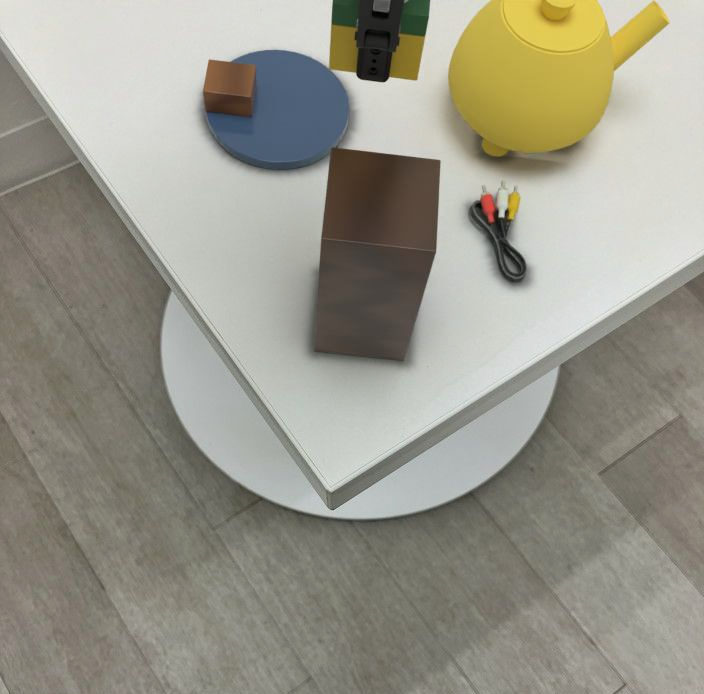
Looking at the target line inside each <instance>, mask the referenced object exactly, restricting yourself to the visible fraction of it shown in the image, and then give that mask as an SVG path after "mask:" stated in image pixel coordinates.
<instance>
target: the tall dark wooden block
mask: <svg viewBox="0 0 704 694" xmlns="http://www.w3.org/2000/svg"><path fill="white" fill-rule="evenodd" d="M329 155H330V156H329V163H328V170H327V171H328V172H327V180H326V191H325V199H324V210H323V217H322V226H321V236H320V248H319V265H318V266H319V267H318V282H317V295H316V311H315V327H314V339H313V340H314V341H313V342H314V343H313V351H314V352H319V353H329V354H337V355H338V354H339V355H347V356H355V357H357V356H358V357H366V358H374V359H375V358H376V359H385V360H395V361H406V356H407V353H408V349H409V346H410V343H411V339H412V335H413V333H414V332H413V331H414V329H415V326H416V322H417V319H418V316H419V312H420V308H421V305H422V301H423V298H424V294H425V291H426V288H427V285H428V282H429V278H430V275H431V271H432V267H433V264H434V261H435V257H436V254H437V247H438V245H437V244H438V224H439V223H438V222H439V205H440V203H439V202H440V186H441V185H440V184H441V164H442V163H441V162H442V161H441V159H435V158H428V157H427V158H426V157H419V156H411V155H404V154H403V155H402V154H393V153H387V152H386V153H384V152H377V151H368V150H359V149H351V148H343V147H336V148H335V147H332V148H331V152H330V153H329Z"/></svg>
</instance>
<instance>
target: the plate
mask: <svg viewBox="0 0 704 694" xmlns="http://www.w3.org/2000/svg"><path fill="white" fill-rule="evenodd" d="M230 62H235V63H243V64H251V65H256V77H257V88H256V94H255V101H254V107H253V114H252V117H248V116H240V115H231V114H223V113H214V112H206V111H205V110H204V111H205V118H206V122H207V126H208V128H209V131H210V133H211V135H212V137H213V138H214V140H215V141H216V142H217V143H218V145H220V146H221V147H222V148H223V149H224V150H225V151H226V152H227V153H229V154H230V155H231V156H233V157H234V158H236V159H238V160H240V161H241V162H243V163H246V164H248V165H252V166H255V167H258V168H263V169H269V170H290V169H296V168H297V169H298V168H302V167H306V166H309V165H312V164H314V163H316V162H318V161H320V160H322V159H324V158H325V157H326V156H329V155H330V153H331V148H332V147H335V148H337V147H338V145H339V144H340V143H341V141H342V140H343V138H344V136H345V134H346V131H347V129H348V126H349V125H348V124H349V119H350V101H349V96H348V94H347V91H346V88H345V87H344V85H343V83H342V81H341V80H340V78H339V77H338V76H337V75H336V74H335V73H334V72H333V70H330V69H329V67H328V66H326V65H325V64H324V63H322V62H320V61H319V60H316V59H315V58H313V57H311V56H308V55H305V54H303V53H299V52H296V51H291V50H286V49H285V50H284V49H264V50H256V51H253V52H248V53H245V54H243V55H240V56H238V57H236V58H234V59H232V60H231V61H230Z"/></svg>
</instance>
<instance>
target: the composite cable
mask: <svg viewBox="0 0 704 694" xmlns="http://www.w3.org/2000/svg"><path fill="white" fill-rule="evenodd" d="M481 189H482V193H480V198H479V199H477V200H474V201H473V202H472V204H471V205H470V207H469V209H468V213H469V214H470V217H471V219H472V221H473V222H474V223H475V224H476V225H477V226H478V227H479V228H481V230H482V231H483V232H484V233H485V234H486V235H487V236H488V237H489V238H490V240H491V242H492V243H493V245H494V248H495V251H496V256H497V262H498V266H499V269H500V272H501V274H502V275H503V277H504V278H505V279H506V280H508V281H510V282H513V283H517V282H521V281H523V279H524V278H525V277H526V274H527V271H528V270H527V269H528V267H527V261H526V259H525V257H524V256H523V255H522V254H521V252H519V251H518V250H517V249H515V247H514V246H512V244H510V242H509V241H508V235H509V231H510V229H511V227H512V224H513V223H512V222H513V221H514V219H515V215H516V214H518V212H519V207H520V203H521V195H520V193H519V191H518V190H519V185H514V187H513V191H512V192H511V193H510V191H509V190H508V188H507V187H506V181H505V180H501V185H500V187H498V188H497V191H496V193H495V194H496V195H495V203H494V199H493V195H492V194H491V192H490V191H488V190H487V186H486V185H485V184H482V185H481ZM476 209H479V210H481V211H482V213H483V215H484V216H485V217H486V218H487V222H486V221H484V219H483V218H482V217H481V216H480V215H479V214H478V213H477V210H476ZM504 252H505V254H506V255H507V256H508V257H509V258H510V260H511V261H513V262H514V264H515V265H516V266H517V268H518V270H519V272H512V271H511V270H510V268H509V267H508V265H507V263H506V259H505V254H504Z"/></svg>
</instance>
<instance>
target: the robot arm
mask: <svg viewBox="0 0 704 694" xmlns="http://www.w3.org/2000/svg"><path fill="white" fill-rule="evenodd" d="M408 1H409V0H360V5H359V17H358V18H357V24H356V27H357V28H358V30H357V31H355V39H354V40H355V41H356V40H357V43H356V47H358V58H357V69H356V73H355V76H356V77H357V79H359V80H362V81H366V82H367V81H368V82H376V83H385V82H388V80H389V79H390V77H389V74H390V67H391V60H392V53H393V52H396V48H397V46H399V42H400V37H398V36H399V33H400V27H401V18H402V12H403V6H404V3H406V2H408Z"/></svg>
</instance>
